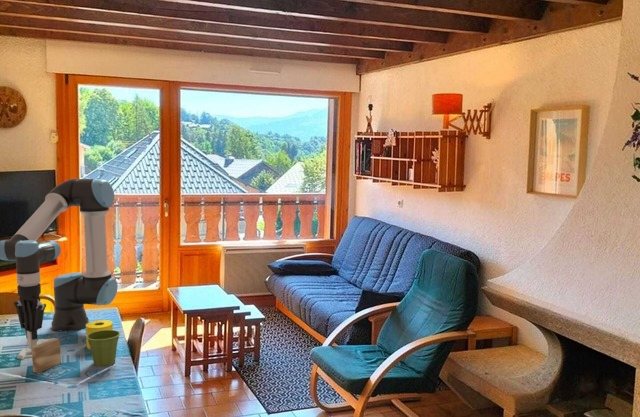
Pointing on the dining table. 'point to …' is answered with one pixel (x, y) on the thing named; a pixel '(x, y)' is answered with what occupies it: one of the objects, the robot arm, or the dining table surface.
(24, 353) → the light grey toy spaceship
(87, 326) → the yellow paper roll
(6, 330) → the dining table surface
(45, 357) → the rectangular block
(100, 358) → the plant pot
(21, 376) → the mat
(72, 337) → the dining table surface
